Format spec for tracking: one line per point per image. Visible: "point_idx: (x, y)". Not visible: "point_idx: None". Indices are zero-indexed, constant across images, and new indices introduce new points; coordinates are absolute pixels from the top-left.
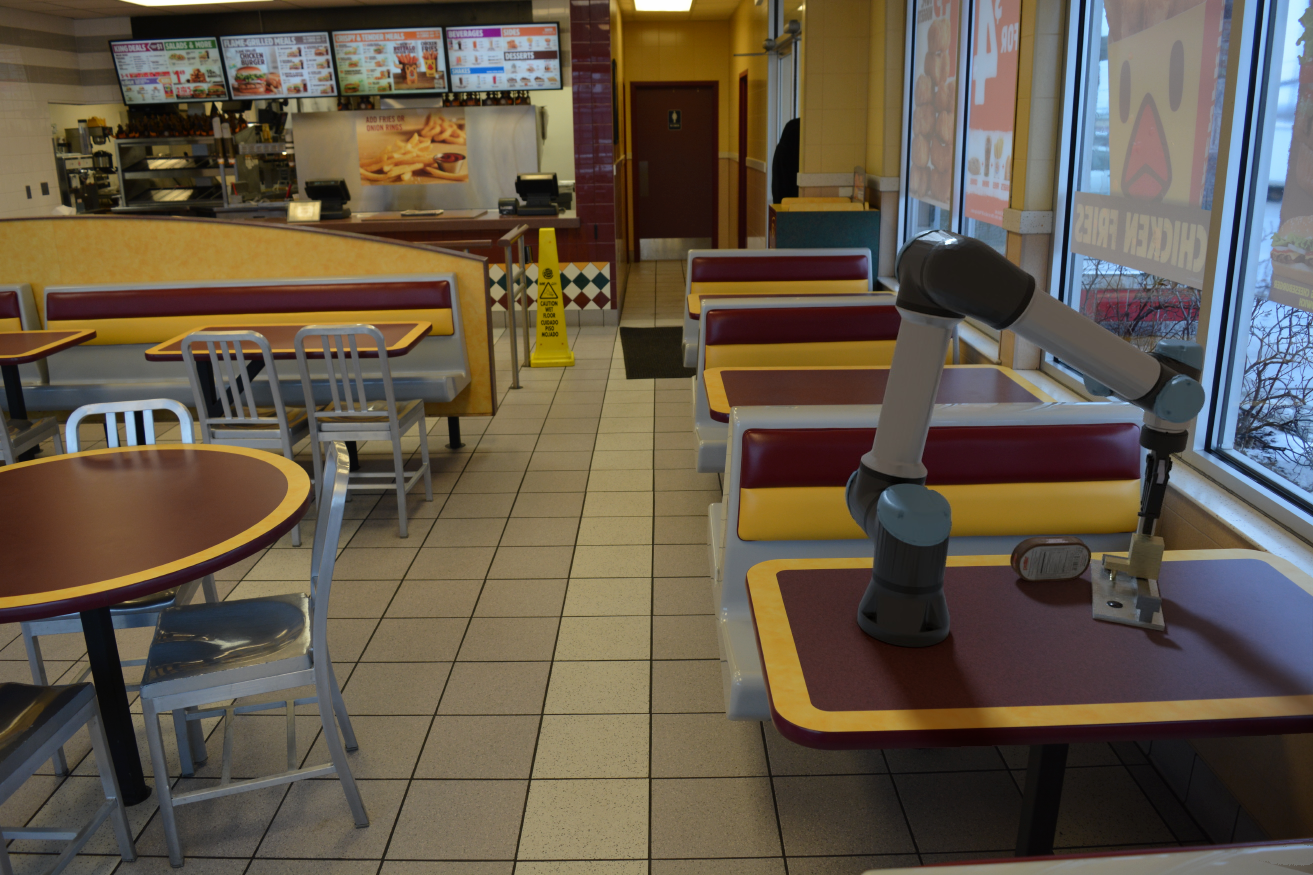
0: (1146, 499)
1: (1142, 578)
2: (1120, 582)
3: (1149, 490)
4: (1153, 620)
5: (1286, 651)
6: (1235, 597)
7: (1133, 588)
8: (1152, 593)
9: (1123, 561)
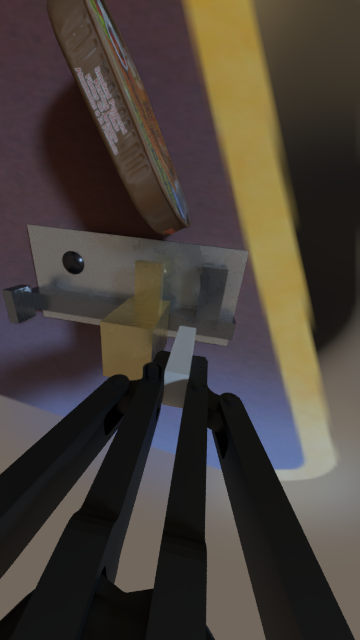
0: (122, 422)
1: None
2: None
3: (18, 472)
4: None
5: (70, 410)
6: (179, 410)
7: None
8: None
9: (147, 295)
